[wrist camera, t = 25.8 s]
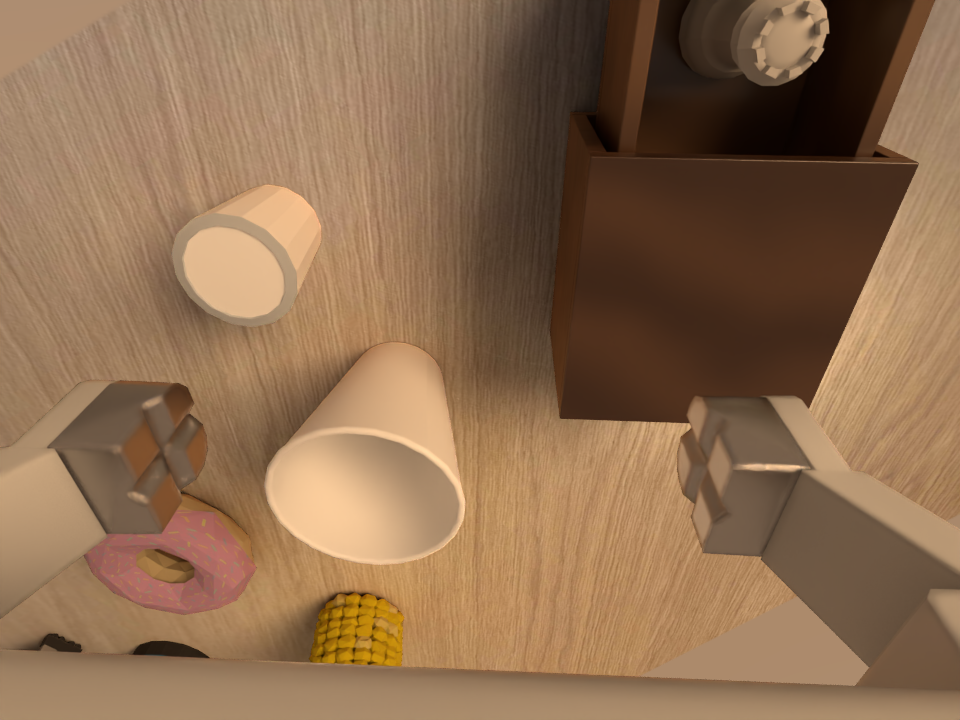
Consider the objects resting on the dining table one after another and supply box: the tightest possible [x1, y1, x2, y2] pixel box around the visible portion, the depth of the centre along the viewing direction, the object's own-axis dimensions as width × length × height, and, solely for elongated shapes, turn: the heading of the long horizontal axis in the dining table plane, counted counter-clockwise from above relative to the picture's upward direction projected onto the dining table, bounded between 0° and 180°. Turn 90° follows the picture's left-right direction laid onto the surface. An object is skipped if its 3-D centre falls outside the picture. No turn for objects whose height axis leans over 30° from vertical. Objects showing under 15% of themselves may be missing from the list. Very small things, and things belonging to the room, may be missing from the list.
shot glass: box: [171, 184, 321, 327], centre depth 33 cm, size 7×7×7 cm
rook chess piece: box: [679, 0, 829, 86], centre depth 24 cm, size 4×4×8 cm
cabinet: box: [550, 112, 919, 423], centre depth 31 cm, size 15×14×10 cm
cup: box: [264, 342, 465, 565], centre depth 37 cm, size 12×12×12 cm
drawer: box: [595, 0, 935, 157], centre depth 25 cm, size 18×12×8 cm
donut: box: [84, 494, 257, 615], centre depth 53 cm, size 16×15×5 cm
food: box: [309, 593, 404, 666], centre depth 56 cm, size 15×12×10 cm
